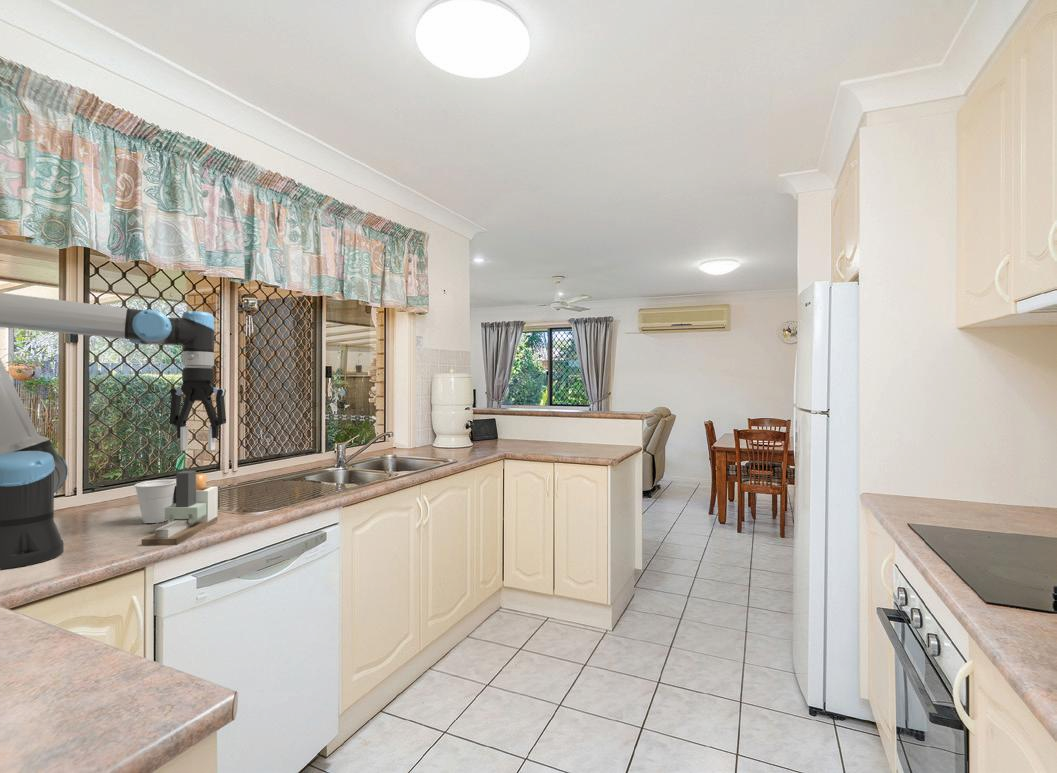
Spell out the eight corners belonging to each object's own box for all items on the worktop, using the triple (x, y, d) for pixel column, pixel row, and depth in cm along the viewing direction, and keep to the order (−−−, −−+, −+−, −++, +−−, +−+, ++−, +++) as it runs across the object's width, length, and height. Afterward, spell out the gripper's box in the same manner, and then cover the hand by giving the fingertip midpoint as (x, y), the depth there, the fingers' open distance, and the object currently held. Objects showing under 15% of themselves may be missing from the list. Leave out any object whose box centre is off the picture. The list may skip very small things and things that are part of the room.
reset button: (186, 494, 147) (186, 476, 147) (193, 491, 151) (193, 473, 151) (201, 493, 148) (201, 475, 148) (208, 490, 152) (208, 473, 152)
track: (141, 545, 130) (141, 531, 130) (187, 522, 152) (187, 509, 152) (176, 544, 131) (176, 530, 131) (217, 521, 153) (217, 509, 153)
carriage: (164, 523, 140) (165, 473, 140) (174, 519, 145) (175, 470, 145) (197, 523, 141) (197, 473, 141) (206, 518, 146) (206, 470, 146)
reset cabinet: (176, 522, 146) (176, 491, 146) (187, 516, 152) (187, 487, 152) (207, 521, 147) (207, 490, 147) (217, 516, 153) (217, 486, 153)
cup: (141, 528, 145) (140, 488, 145) (130, 522, 152) (129, 483, 151) (182, 520, 153) (181, 482, 153) (170, 514, 159) (169, 478, 159)
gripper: (153, 366, 144) (152, 451, 145) (229, 367, 147) (229, 451, 147) (168, 367, 152) (168, 448, 152) (240, 368, 154) (240, 448, 154)
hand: (198, 449), depth 149 cm, fingers open, 6 cm apart
